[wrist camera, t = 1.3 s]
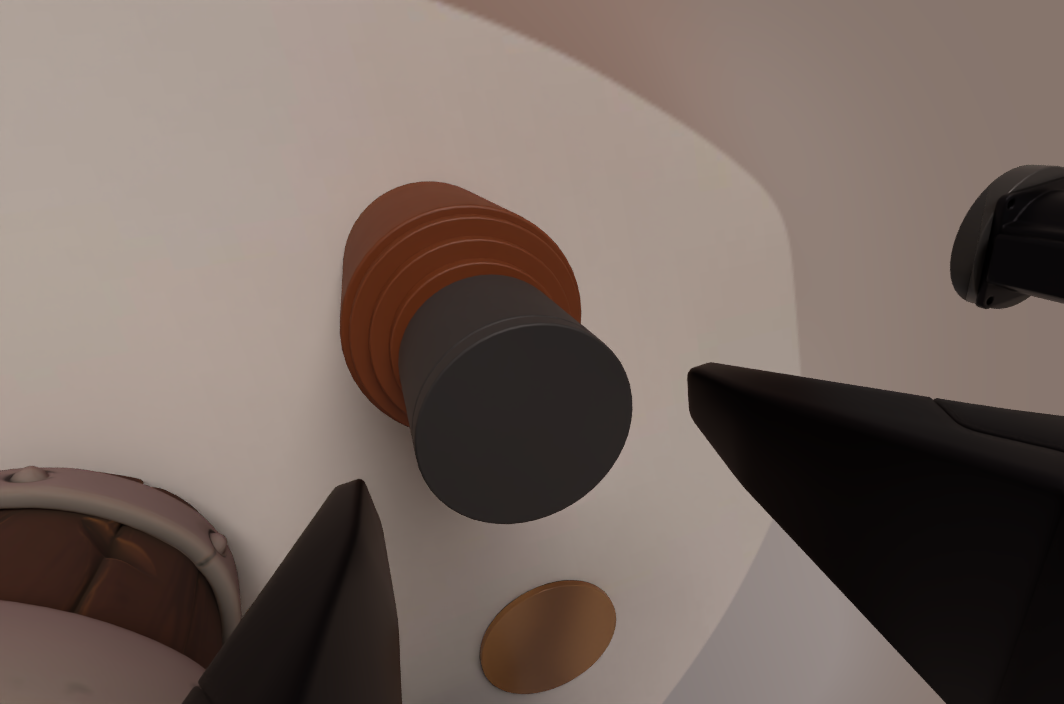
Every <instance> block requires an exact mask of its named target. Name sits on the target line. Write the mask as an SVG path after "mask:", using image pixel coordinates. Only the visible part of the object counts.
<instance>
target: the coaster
mask: <svg viewBox="0 0 1064 704" xmlns="http://www.w3.org/2000/svg"><path fill="white" fill-rule="evenodd" d="M615 626H616V613H615V609H614V606H613V604H612V602H611V600H610V598H609V597H608V596H607V594H606V593H605V592H604V591H603V590H602V589H600V588H599V587H597V586H595V585H593V584H590V583H588V582H583V581H575V580H566V581H558V582H553V583H549V584H545V585H542V586H540V587H537V588H535V589H532V590H530V591H528V592H526V593H525V594H523V595H521V596H519V597H518V598H517V599H515V600H514V601H512V602H511V603H510V604H508V605H507V606H506V607H505V608H504V609H503V610H502V611H501V612H500V613H499V614H498V615H497V616H496V617H495V619H494V620H493V621H492V622H491V624H490V626H489V627H488V629H487V631H486V633H485V635H484V637H483V640H482V643H481V649H480V660H481V665H482V669H483V672H484V674H485V676H486V677H487V679H488V680H489V681H490V682H491V683H492V684H493V685H494V686H496V687H497V688H499V689H501V690H504V691H506V692H511V693H517V694H531V693H538V692H543V691H547V690H550V689H553V688H556V687H558V686H561V685H563V684H565V683H567V682H569V681H571V680H573V679H574V678H576V677H578V676H579V675H580V674H582V673H583V672H585V671H586V670H587V669H588V668H589V667H591V666H592V665H593V664H594V663H595V662H596V661H597V660H598V659H599V657H600V656H601V655H602V654H603V652H604V651H605V650H606V648H607V647H608V645H609V643H610V641H611V639H612V636H613V634H614V630H615Z"/></svg>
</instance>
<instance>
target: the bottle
mask: <svg viewBox="0 0 1064 704" xmlns="http://www.w3.org/2000/svg"><path fill="white" fill-rule="evenodd" d="M490 274H492V275H504V276H509V277H514V278H517V279H520V280H522V281H525V282H527V283H529V284H531V285H533V286H534V287H536V288H537V289H538V290H540V291H541V292H543V293H544V294H545V295H546V296H547V297H549V298H550V299H551V300H552V301H554V302H555V303H556V304H557V305H558V306H560V307H561V308H562V309H563V310H564V311H566V312H567V313H568V314H569V315H570V316H572V317H573V318H574V319H575V320H577V321H578V322H579V323H580V324H581V303H580V295H579V290H578V285H577V282H576V279H575V276H574V273H573V271H572V268H571V267H570V265H569V263H568V261H567V259H566V257H565V256H564V254H563V253H562V251H561V250H560V249H559V247H558V246H557V244H556V243H555V242H554V241H553V240H552V239H551V238H550V237H549V236H548V235H547V234H546V233H545V232H543V231H542V230H541V229H540V228H538V227H537V226H536V225H535V224H533V223H531V222H530V221H528V220H526V219H524V218H523V217H521V216H519V215H517V214H515V213H513V212H511V211H509V210H507V209H505V208H502V207H500V206H498V205H496V204H494V203H492V202H490V201H488V200H486V199H484V198H482V197H480V196H478V195H476V194H474V193H471V192H469V191H467V190H465V189H463V188H460V187H458V186H455V185H451V184H447V183H441V182H416V183H410V184H406V185H403V186H400V187H397V188H395V189H393V190H390V191H388V192H386V193H385V194H383V195H382V196H380V197H378V198H377V199H376V200H375V201H373V202H372V203H371V204H370V205H369V206H368V207H367V208H366V209H365V210H364V211H363V212H362V214H361V215H360V216H359V218H358V219H357V221H356V222H355V224H354V225H353V227H352V230H351V232H350V234H349V236H348V239H347V243H346V246H345V252H344V258H343V276H342V293H341V311H340V337H341V345H342V351H343V354H344V357H345V361H346V364H347V366H348V369H349V371H350V373H351V375H352V377H353V379H354V381H355V382H356V384H357V385H358V387H359V388H360V390H361V391H362V393H363V394H364V395H365V396H366V397H367V398H368V399H369V401H370V402H371V403H372V404H373V405H375V406H376V407H377V408H378V409H379V410H380V411H382V412H383V413H384V414H386V415H387V416H389V417H390V418H392V419H393V420H395V421H397V422H399V423H401V424H403V425H405V426H407V427H410V426H409V421H408V416H407V411H406V406H405V401H404V396H403V391H402V386H401V381H400V376H399V367H398V358H399V349H400V344H401V340H402V337H403V335H404V332H405V329H406V328H407V326H408V324H409V322H410V320H411V318H412V317H413V316H414V314H415V313H416V311H417V310H418V309H419V308H420V307H421V306H422V304H423V303H424V302H425V301H426V300H427V299H429V298H430V297H431V296H432V295H433V294H435V293H436V292H438V291H439V290H441V289H442V288H444V287H445V286H447V285H450V284H452V283H454V282H456V281H459V280H462V279H465V278H468V277H473V276H478V275H490Z"/></svg>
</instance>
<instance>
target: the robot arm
mask: <svg viewBox="0 0 1064 704" xmlns="http://www.w3.org/2000/svg"><path fill="white" fill-rule="evenodd" d="M1025 295H1030V296H1034V297H1038V298H1043V299H1047V300H1051V301H1055V302H1059V303H1064V177H1061V178H1057V179H1054V180H1050V181H1047V182H1044V183H1040V184H1037V185H1034V186H1030V187H1027V188H1023V189H1020V190H1017V191H1013V192H1010V193H1006V194H1004V195H1002V196H1001V197H1000V198H999V199H998V201H997V204H996V207H995V212H994V217H993V221H992V226H991V231H990V236H989V241H988V245H987V250H986V255H985V260H984V265H983V269H982V274H981V279H980V284H979V288H978V293H977V298H976V305H977V306H978V307H981V308H984V309H989V308H991V307H994V306H997V305H1000V304H1003V303H1006V302H1008V301H1011V300H1014V299H1017V298H1020V297H1023V296H1025ZM687 382H688V401H689V411H690V415H691V417H692V419H693V421H694V423H695V424H696V425H697V427H698V428H699V429H700V431H701V432H702V433H703V435H704V436H705V437H706V439H707V440H708V441H709V442H710V444H711V445H712V446H713V448H714V449H715V450H716V452H717V453H718V454H719V456H720V457H721V458H722V460H723V461H724V462H725V464H726V465H727V466H728V468H729V469H730V470H731V472H732V473H733V474H734V476H735V477H736V478H737V479H738V481H739V482H740V483H741V484H742V485H743V487H744V488H745V489H746V490H747V491H748V492H749V493H750V494H751V496H752V497H753V498H754V499H755V500H756V501H757V502H758V503H759V504H760V505H761V506H762V507H763V508H764V509H765V510H766V512H767V513H768V514H769V515H770V516H771V517H772V518H773V519H774V520H775V521H776V522H777V523H778V524H779V525H780V526H781V528H782V529H783V530H784V531H785V532H786V533H787V534H788V535H789V536H790V537H791V538H792V539H793V540H794V541H795V542H796V544H797V545H798V546H799V547H800V548H801V549H802V550H803V551H804V552H805V553H806V554H807V555H808V556H809V557H810V558H811V560H812V561H813V562H814V563H815V564H816V565H817V566H818V567H819V568H820V569H821V570H822V571H823V572H824V573H825V574H826V576H827V577H828V578H829V579H830V580H831V581H832V582H833V583H834V584H835V585H836V586H837V587H838V588H839V590H841V592H842V593H843V594H844V595H845V596H846V597H847V598H848V599H849V600H850V601H851V602H852V603H853V604H854V606H856V608H857V609H858V610H859V611H860V612H861V613H862V614H863V615H864V616H865V617H866V618H867V619H868V620H869V622H870V623H871V624H872V625H873V626H874V627H875V628H876V629H877V630H878V631H879V632H880V633H881V634H882V635H883V637H885V639H886V640H887V641H888V642H889V643H890V644H891V645H892V646H893V647H894V648H895V649H896V650H897V651H898V652H899V654H900V655H901V656H902V657H903V658H904V659H905V660H906V661H907V662H908V663H909V664H910V665H911V666H912V667H913V669H914V670H915V671H916V672H917V673H918V674H919V675H920V676H921V677H922V678H923V679H924V680H925V681H926V682H927V684H928V685H929V686H930V687H931V688H932V689H933V690H934V691H935V692H936V693H937V694H938V695H939V696H940V697H941V698H942V700H943V701H944V702H945V703H946V704H1064V416H1058V415H1050V414H1042V413H1035V412H1026V411H1019V410H1011V409H1004V408H996V407H990V406H984V405H976V404H969V403H963V402H957V401H951V400H945V399H939V398H936V399H934V400H932V399H931V398H930V397H925V396H919V395H913V394H907V393H900V392H894V391H887V390H881V389H875V388H869V387H863V386H856V385H850V384H844V383H837V382H831V381H825V380H818V379H813V378H806V377H800V376H794V375H788V374H781V373H775V372H769V371H762V370H756V369H750V368H744V367H737V366H731V365H725V364H719V363H712V362H710V363H706V364H703V365H700V366H697V367H694V368H692V369H690V371H689V372H688V376H687ZM198 684H199V686H200V687H199V686H195V687H193V688H192V690H191V691H190V692H189V694H188V695H187V697H186V698H185V699H184V701H183V702H182V704H402V693H401V669H400V645H399V628H398V617H397V610H396V603H395V597H394V591H393V585H392V580H391V574H390V568H389V562H388V556H387V550H386V545H385V539H384V533H383V528H382V524H381V521H380V518H379V516H378V513H377V511H376V508H375V506H374V503H373V501H372V498H371V496H370V493H369V491H368V488H367V486H366V484H365V482H364V481H363V480H362V479H357V480H354V481H351V482H348V483H345V484H342V485H339V486H337V487H335V488H334V490H333V491H332V492H331V494H330V495H329V496H328V498H327V499H326V501H325V502H324V504H323V505H322V506H321V508H320V509H319V511H318V512H317V513H316V515H315V516H314V518H313V519H312V520H311V522H310V523H309V525H308V526H307V528H306V529H305V530H304V532H303V533H302V535H301V536H300V537H299V539H298V540H297V542H296V543H295V544H294V546H293V547H292V549H291V550H290V552H289V553H288V554H287V556H286V557H285V559H284V560H283V561H282V563H281V564H280V566H279V567H278V568H277V570H276V571H275V573H274V574H273V576H272V577H271V578H270V580H269V581H268V583H267V584H266V585H265V587H264V588H263V590H262V591H261V593H260V594H259V595H258V597H257V598H256V600H255V601H254V602H253V604H252V605H251V607H250V608H249V609H248V611H247V612H246V614H245V615H244V617H243V618H242V619H241V621H240V622H239V624H238V625H237V626H236V628H235V629H234V631H233V632H232V633H231V635H230V636H229V638H228V639H227V641H226V642H225V643H224V645H223V646H222V648H221V649H220V650H219V652H218V653H217V655H216V656H215V657H214V659H213V660H212V662H211V663H210V665H209V666H208V667H207V669H206V670H205V672H204V673H203V674H202V676H201V677H200V679H199V680H198Z"/></svg>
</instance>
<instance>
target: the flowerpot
mask: <svg viewBox="0 0 1064 704" xmlns="http://www.w3.org/2000/svg"><path fill="white" fill-rule="evenodd" d="M240 621H241V598H240V589H239V582H238V575H237V570H236V566H235V562H234V559H233V556H232V553H231V551H230V549H229V547H228V545H227V539H226V538H225V536H224V535H222V534H219V533H218V532H217V531H216V530H215V528H214V527H213V526H212V525H211V524H210V523H209V522H208V521H207V520H206V519H205V518H204V517H203V516H202V515H200V514H199V513H198V512H197V511H196V510H195V509H194V508H193V507H192V506H191V505H190V504H188V503H187V502H185V501H184V500H183V499H181V498H179V497H178V496H176V495H174V494H172V493H170V492H168V491H166V490H163V489H160V488H155V487H149V486H147V485H144V484H143V482H142V480H140V479H137V478H132V477H126V476H120V475H114V474H107V473H101V472H94V471H89V470H82V469H73V468H38V467H34V466H29V467H25V468H20V469H10V470H2V471H0V704H182V702H183V701H184V699H185V698H186V697H187V695H188V694H189V692H190V691H191V690H192V688H193V687H195V686H199V684H198V680H199V679H200V677H201V676H202V674H203V673H204V672H205V670H206V669H207V667H208V666H209V665H210V663H211V662H212V660H213V659H214V657H215V656H216V655H217V653H218V652H219V650H220V649H221V648H222V646H223V645H224V643H225V642H226V641H227V639H228V638H229V636H230V635H231V633H232V632H233V631H234V629H235V628H236V626H237V625H238V624H239V622H240ZM199 687H200V686H199Z"/></svg>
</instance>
